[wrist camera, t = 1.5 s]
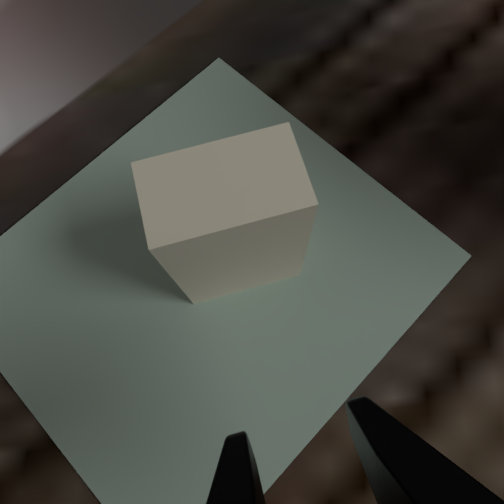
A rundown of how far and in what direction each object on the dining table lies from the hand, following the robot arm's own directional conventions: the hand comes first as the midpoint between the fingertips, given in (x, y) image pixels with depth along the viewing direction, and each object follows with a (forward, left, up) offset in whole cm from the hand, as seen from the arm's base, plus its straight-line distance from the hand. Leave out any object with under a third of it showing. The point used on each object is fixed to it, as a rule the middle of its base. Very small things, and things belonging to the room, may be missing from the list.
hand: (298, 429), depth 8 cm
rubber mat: (+8, -2, -14) cm, 16 cm away
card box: (+7, -4, -13) cm, 15 cm away
